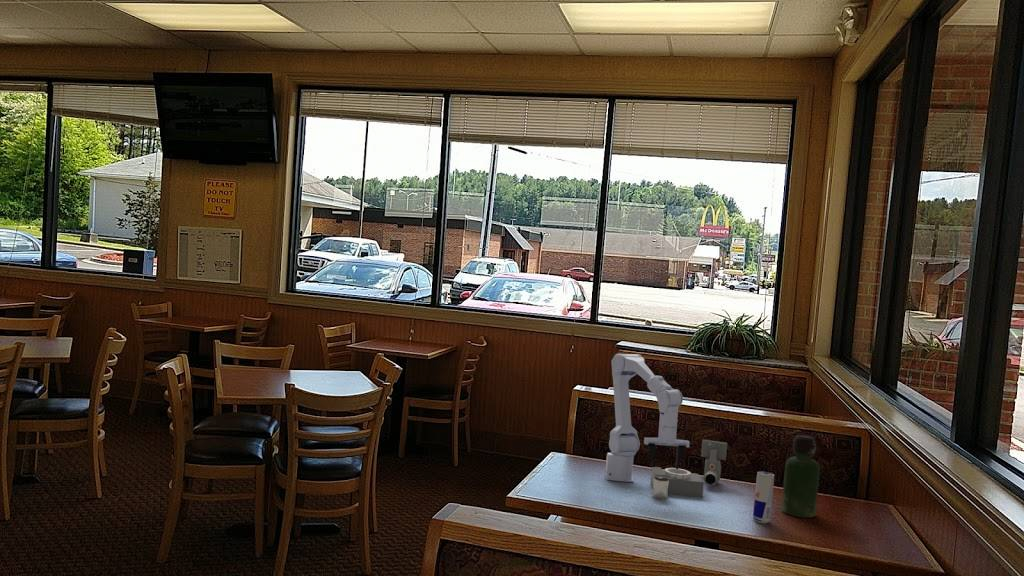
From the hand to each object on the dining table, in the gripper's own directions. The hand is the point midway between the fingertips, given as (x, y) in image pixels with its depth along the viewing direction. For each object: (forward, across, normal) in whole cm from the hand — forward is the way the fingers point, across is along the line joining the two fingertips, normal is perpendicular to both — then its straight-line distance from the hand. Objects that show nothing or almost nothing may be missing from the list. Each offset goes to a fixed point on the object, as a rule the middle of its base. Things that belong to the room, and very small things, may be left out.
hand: (664, 467), depth 265 cm
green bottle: (+11, +43, -5) cm, 44 cm away
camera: (+10, +21, +22) cm, 32 cm away
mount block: (+10, +6, +11) cm, 16 cm away
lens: (+10, -1, 0) cm, 10 cm away
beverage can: (+11, +27, -17) cm, 34 cm away
